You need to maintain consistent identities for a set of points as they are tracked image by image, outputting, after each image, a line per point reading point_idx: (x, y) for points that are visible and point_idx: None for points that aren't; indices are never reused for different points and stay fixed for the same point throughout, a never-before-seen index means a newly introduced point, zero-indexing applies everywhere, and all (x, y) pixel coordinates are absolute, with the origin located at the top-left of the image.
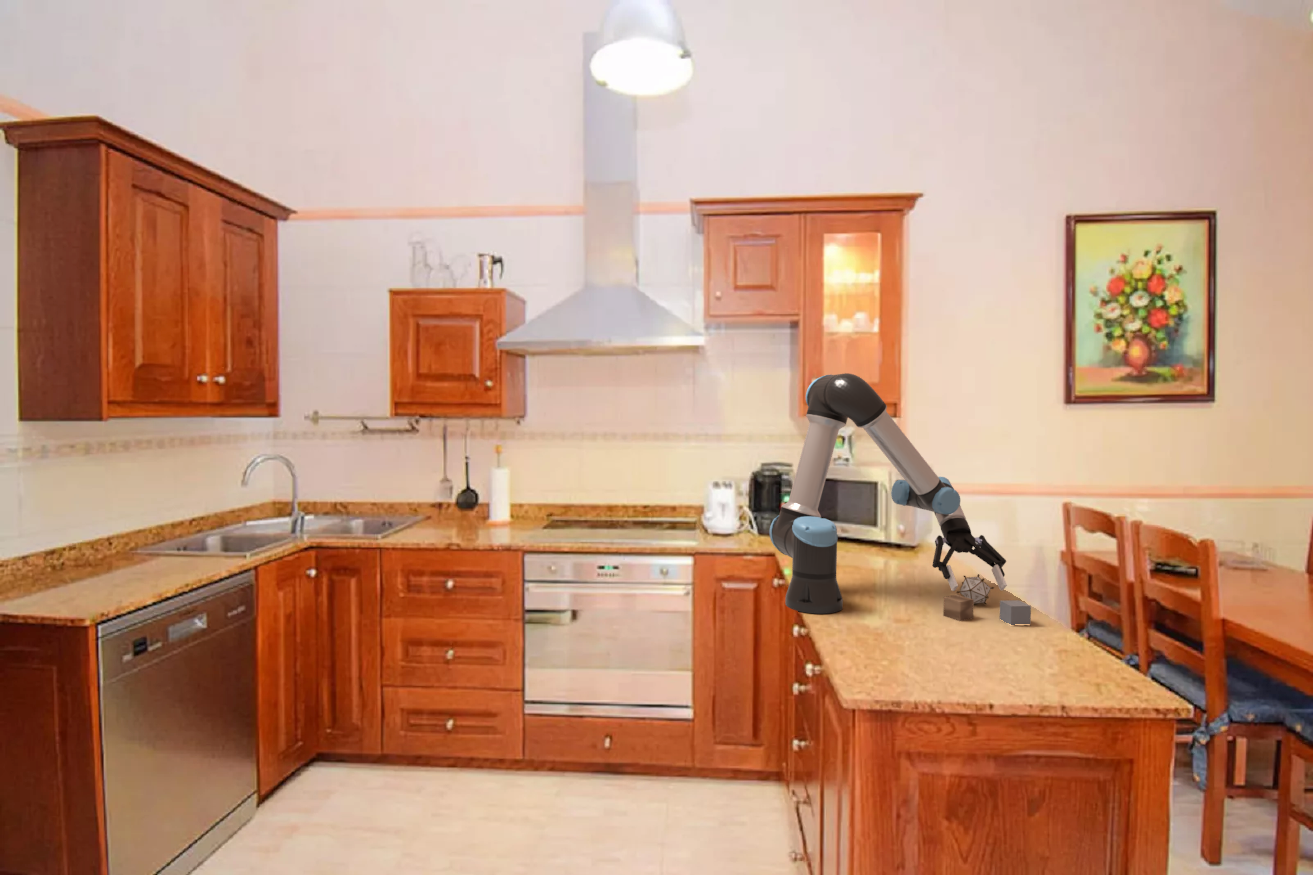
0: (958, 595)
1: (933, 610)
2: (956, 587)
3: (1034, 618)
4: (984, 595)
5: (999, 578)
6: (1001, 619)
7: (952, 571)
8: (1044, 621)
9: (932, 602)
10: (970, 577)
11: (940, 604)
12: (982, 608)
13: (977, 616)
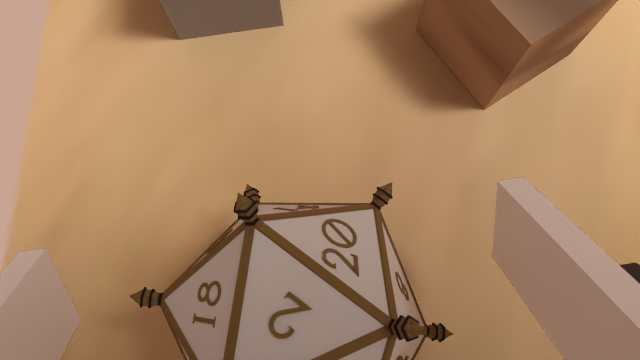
0: (522, 27)
1: (611, 149)
2: (501, 203)
3: (83, 64)
4: (267, 205)
5: (10, 339)
6: (280, 5)
7: (599, 281)
8: (62, 23)
9: None
10: (332, 346)
11: None
12: None
13: (380, 65)
